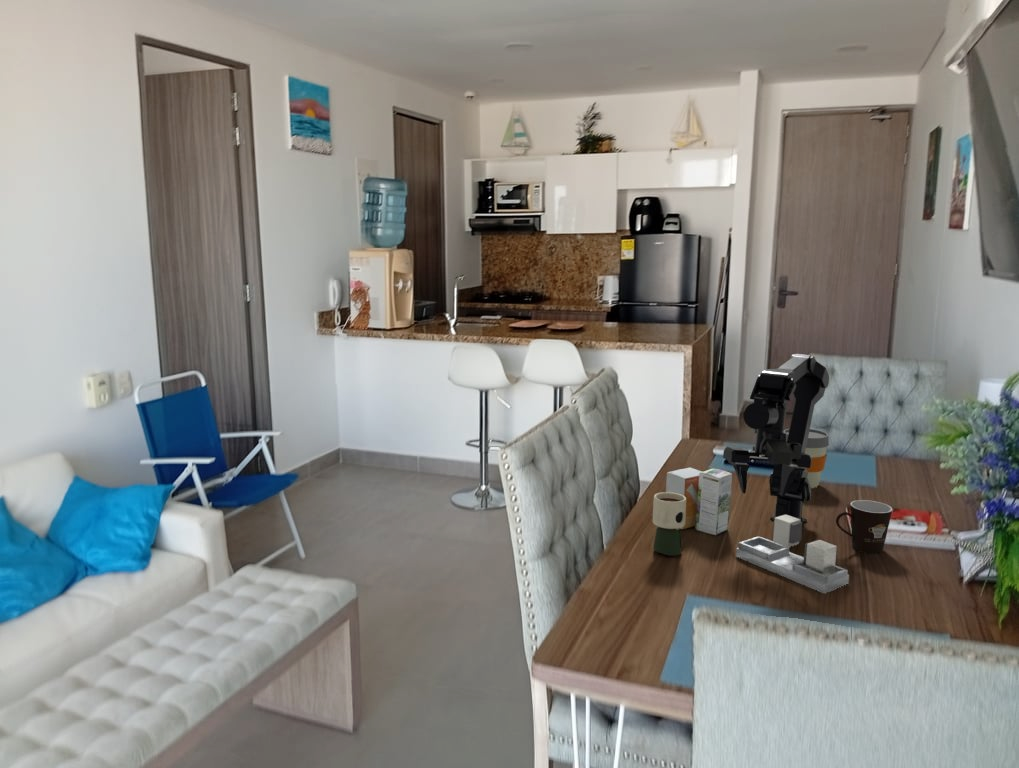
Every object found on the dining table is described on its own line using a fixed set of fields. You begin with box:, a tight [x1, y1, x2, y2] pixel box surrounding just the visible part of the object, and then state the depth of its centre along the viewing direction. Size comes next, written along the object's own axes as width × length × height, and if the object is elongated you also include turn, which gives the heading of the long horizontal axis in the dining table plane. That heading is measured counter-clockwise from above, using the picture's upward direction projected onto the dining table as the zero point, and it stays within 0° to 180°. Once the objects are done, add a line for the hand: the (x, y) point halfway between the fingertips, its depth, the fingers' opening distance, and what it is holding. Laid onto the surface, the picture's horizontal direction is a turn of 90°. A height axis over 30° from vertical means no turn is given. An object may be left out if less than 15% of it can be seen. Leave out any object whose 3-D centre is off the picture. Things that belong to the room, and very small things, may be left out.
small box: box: [665, 466, 703, 530], centre depth 191 cm, size 8×6×13 cm
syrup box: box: [694, 468, 733, 536], centre depth 186 cm, size 6×6×14 cm
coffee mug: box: [835, 499, 893, 554], centre depth 177 cm, size 12×9×10 cm
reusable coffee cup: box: [784, 428, 830, 489], centre depth 223 cm, size 13×12×15 cm
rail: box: [735, 536, 850, 595], centre depth 164 cm, size 8×22×8 cm, turn 34°
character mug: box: [652, 491, 686, 557], centre depth 173 cm, size 11×7×13 cm, turn 152°
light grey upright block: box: [772, 514, 803, 548], centre depth 179 cm, size 4×5×6 cm
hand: (763, 494), depth 177 cm, fingers open, 9 cm apart
